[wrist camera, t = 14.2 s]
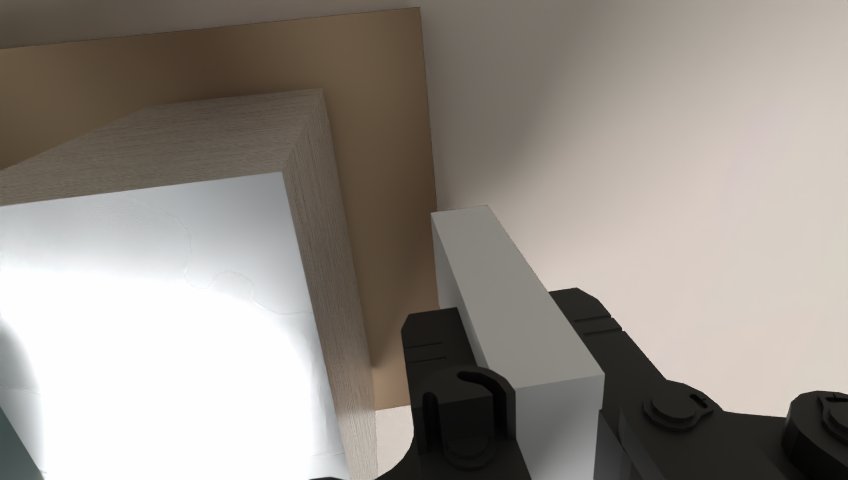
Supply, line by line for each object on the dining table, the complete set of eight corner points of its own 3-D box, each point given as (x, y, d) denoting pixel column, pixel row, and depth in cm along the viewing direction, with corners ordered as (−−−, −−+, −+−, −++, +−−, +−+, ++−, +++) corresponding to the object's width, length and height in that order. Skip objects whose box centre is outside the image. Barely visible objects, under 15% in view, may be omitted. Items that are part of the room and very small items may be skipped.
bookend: (245, 401, 15) (165, 676, 9) (149, 106, 11) (-115, 220, 5) (373, 381, 15) (385, 634, 9) (322, 86, 12) (281, 171, 5)
